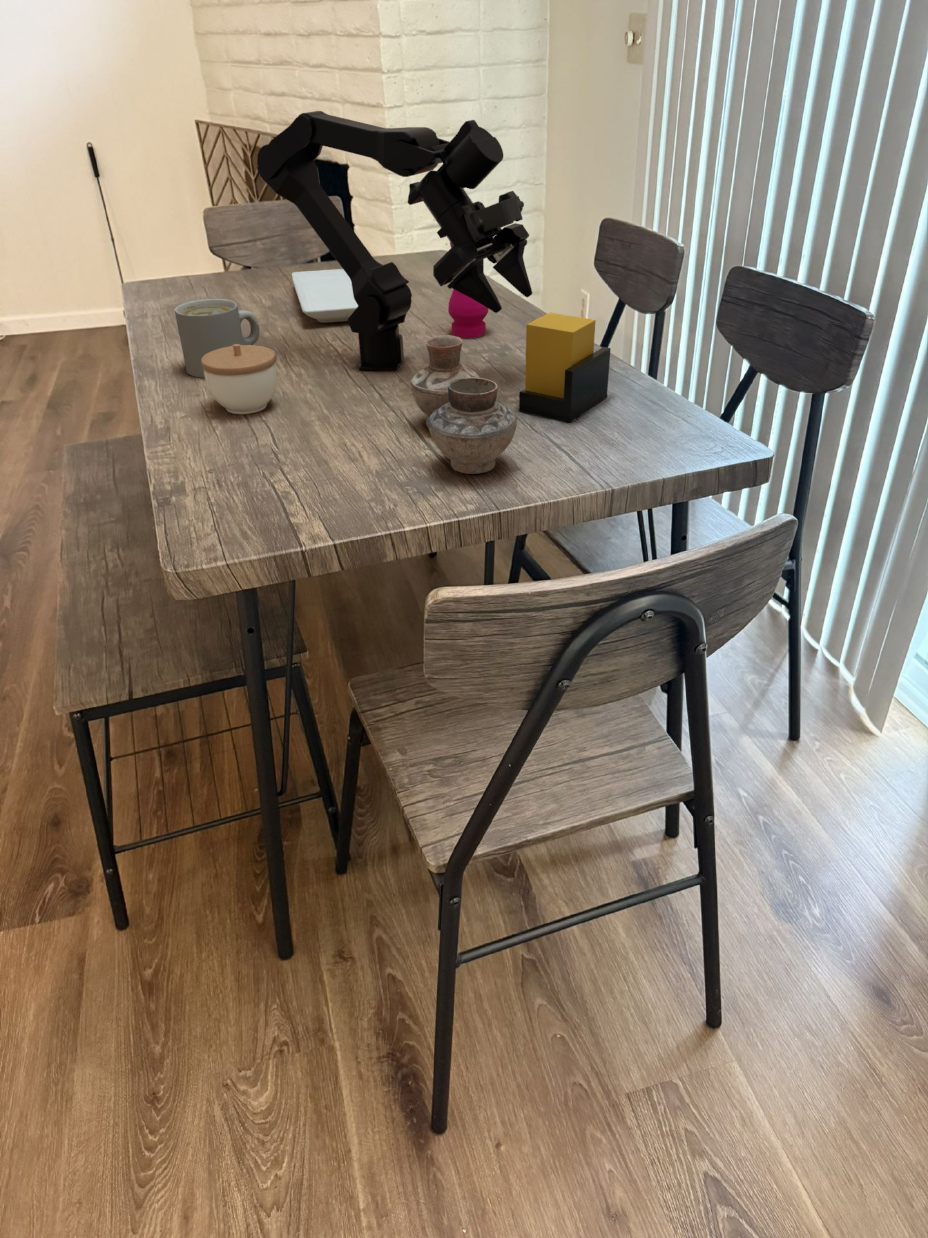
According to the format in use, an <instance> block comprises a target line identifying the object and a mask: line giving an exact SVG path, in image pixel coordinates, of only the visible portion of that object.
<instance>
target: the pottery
mask: <svg viewBox="0 0 928 1238" xmlns="http://www.w3.org/2000/svg"><path fill="white" fill-rule="evenodd" d="M425 346H426V350H427V353H428V359H429V365H427V366H425V367H424V368H423V369H421V370H419V371H418V372H417V373H415V374H414V375H413V376H412V378H411V379H410V381H409V386H410V389H411V392H412V395H413V398H414V400H415V402H416V403H415V404H416V405H417V406H418V408H419V410H421V412H422V413H423V414H424V415H425V416H427V418H426V422H425V425H426V427H427V428H428V430H429V434H430V436H431V438H432V441H433V442H434V444H435V445H436V447H437V448H438V449H439V451H440V452H441V453H442V454H443V455H444V456H445V457H446V458H448V459H449V460H450V467H451V468H452V469H453V470H454V471H456V472H458V473H462V474H469V475H471V474H472V475H475V474H476V475H477V474H485V473H487V472H490V471H492V470H493V469H494V468H495V466H496V459H497V458H498V457H500V456H501V455H502V454H503V453H504V452H505V451H506V449H507V448H508V447H509V446H510V445H511V442H512V441H513V438H514V436H515V433H516V429H517V424H518V417H517V415H516V413H515V411H513V410H512V409H510V408H509V407H507V406H506V405H504V404H502V403H500V402H498V401H496V400H497V397H498V387H499V386H498V384H497V383H496V381H493V380H491V379H488V378H483V377H480V375H478V373H476V372H475V371H474V370H472V369H471V368H469V367H468V366H466V365H464V364H462V363H461V352H462V348H463V338H460V337H456V336H454V335H452V334H450V335H448V334H445V335H444V334H443V335H442V334H441V335H435V336H431V337H429V338H427V339H426V340H425Z"/></svg>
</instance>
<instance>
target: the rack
mask: <svg viewBox="0 0 928 1238" xmlns="http://www.w3.org/2000/svg"><path fill="white" fill-rule="evenodd" d="M610 361H611V347H606V346H602V347H601V348H599V349H597V350H596V351H594V352H593V354H591V355H589V356H588V357H586V358H584V359H583V360H581V361H579V362H578V363H576V364H574V365H573V366H571V367H569V368H568V369H566V370H565V383H564V398H559V397H555V396H550V395H545V394H541V393H536V392H531V391H526V390H525V389H522V390H520V391H519V395H518V412H520V413H525V414H529V415H533V416H538V417H542V418H547V419H552V420H556V421H561V422H565V423H572V422H573V421H575V420H576V419H578V418H579V417H581V416H582V415H583V414H585V413H587V412H588V411H589V410H590V409H592V408H594V407H595V406H597V405H598V404H599V403H601V402H602V401H605V399H606V398H608V391H609V390H608V388H609V375H610Z"/></svg>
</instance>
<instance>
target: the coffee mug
mask: <svg viewBox="0 0 928 1238" xmlns="http://www.w3.org/2000/svg"><path fill="white" fill-rule="evenodd" d="M174 315H175V320H176V325H177V331H178V335H179V339H180V345H181V350H182V355H183V360H184V365H185V371H186V373H187V374H188V375H190V376H192V377H195V378H201V379H205V375H204V370H203V368H202V364H201V359H202V357H203V356H204V355H205V354H207V353H209V352H211V351H214V350H216V349H220V348H224V347H229V346H233V345H234V344H240V345H256V343H257V342H258V340H259V338H260V323H259V320H258V318H257V316H256V314H254V313H253V312H252V311H250V310H247V309H243V310H239V306H238V304H237V302H236V301H233V300H230V299H225V298H224V299H223V298H204V299H196V300H191V301H186V302H184V303H181V304H179V305H176V307H175V308H174ZM243 320H247V321H248V323H249V327H250V333H249V335H248V336H247V337H244V335H243V332H242V322H243Z"/></svg>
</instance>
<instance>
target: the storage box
mask: <svg viewBox="0 0 928 1238" xmlns="http://www.w3.org/2000/svg"><path fill="white" fill-rule="evenodd" d="M596 322H597V321H596V319H591V318H586V317H581V316H580V317H579V316H574V315H567V314H561V313H555V312H549V313H546V314H544V315H542V316H541V317H538V318H536V319H534V320H533V321H530V322H529V323H526V333H525V335H526V337H525V384H524V390H526V391H531V392H536V393H541V394H545V395H550V396H555V397H559V398H564V383H565V370H566V369H568V368H569V367H571V366H573V365H574V364H576V363H578V362H579V361H581V360H583V359H584V358H586V357H588V356H589V355H591V354H593V353H594V352H595V351H594V349H595V336H596V335H595V334H596Z"/></svg>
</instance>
